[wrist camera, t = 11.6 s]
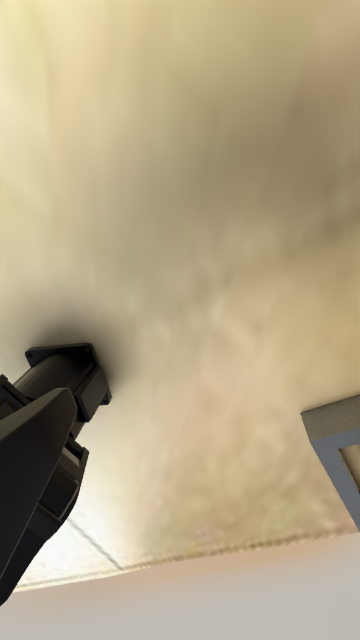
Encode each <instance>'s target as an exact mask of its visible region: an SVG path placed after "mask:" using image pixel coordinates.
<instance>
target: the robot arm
mask: <svg viewBox="0 0 360 640" xmlns="http://www.w3.org/2000/svg"><path fill="white" fill-rule="evenodd" d="M86 348H87V349H88V350H89V351H88V350H86ZM25 356H26V358H27V360H28V362H29V364H30V366H31V368H30V369H29V370H28V371H27V372H26V373H25V374H24V375H22V376H21V377H20V378H19V379H18V380H17V381H16V382H15V383H14V384H13V385H12V384H11V383H10V382H9V381H8V378H6V377H5V376H4V375H3V374H2V375H0V606H1V605H2V604H3V603H4V602H5V601H6V600H7V599H8V598H9V596H10V595H11V593H12V591H13V590H14V588H15V587H16V585H17V583H18V582H19V580H20V579H21V577H22V575H23V574H24V572H25V570H26V569H27V567H28V566H29V564H30V563H31V561H32V560H33V558H34V557H35V555H36V554H37V553H38V551H39V550H40V549H41V547H42V546H43V545H44V543H45V542H46V541H47V540H48V539H50V538H51V537H52V536H53V535H54V534H55V533H56V532H57V531H58V529H59V528H60V527H61V526H62V525H63V523H64V522H65V520H66V519H67V517H68V516H69V514H70V513H71V511H72V509H73V507H74V505H75V503H76V501H77V498H78V495H79V491H80V487H81V483H82V479H83V475H84V471H85V467H86V463H87V459H88V455H89V451H88V450H87V449H86V448H85V447H82V446H80V445H79V444H78V443H77V442H76V441H75V439H76V438H77V436H78V434H79V433H80V431H81V429H82V427H83V426H84V424H85V423H87V422H90V420H91V419H92V417H93V415H94V414H95V412H96V410H97V408H98V406H99V405H108V404H109V403H110V401H111V396H110V393H109V391H108V385H107V382H106V379H105V376H104V374H103V371H102V368H101V366H100V365H99V362H98V359H97V356H96V353H95V351H94V348H93V346H92V345H91V344H89V343H83V344H72V345H61V346H50V347H39V348H30V349H28V350H27V351H26V352H25ZM105 399H106V400H105Z"/></svg>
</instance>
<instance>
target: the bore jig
mask: <svg viewBox="0 0 360 640" xmlns="http://www.w3.org/2000/svg"><path fill="white" fill-rule="evenodd" d="M300 414H301V417H302V420H303V423H304V426H305V429H306V432H307V435H308V438H309V441H310V443H311V445H312V446H313V448H314V450H315V452H316V454H317V456H318V457H319V459H320V461H321V463H322V465H323V466H324V468H325V470H326V472H327V474H328V475H329V477H330V479H331V481H332V483H333V484H334V486H335V488H336V490H337V492H338V493H339V495H340V497H341V499H342V501H343V502H344V504H345V506H346V508H347V510H348V511H349V513H350V515H351V517H352V519H353V520H354V522H355V524H356V526H357V528H358V529H359V531H360V489H359V487H358V485H357V483H356V481H355V479H354V477H353V475H352V474H351V472H350V470H349V468H348V466H347V464H346V462H345V460H344V458H343V456H342V454H341V452H340V450H339V449H340V448H344V447H348V446H352V445H356V444H360V395H359V396H355V397H352V398H349V399H345V400H342V401H339V402H336V403H332V404H329V405H326V406H323V407H319V408H316V409H313V410H309V411H306V412H303V413H300Z"/></svg>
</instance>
